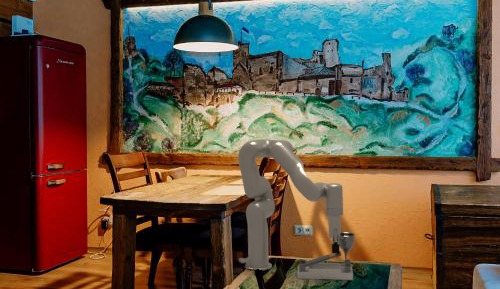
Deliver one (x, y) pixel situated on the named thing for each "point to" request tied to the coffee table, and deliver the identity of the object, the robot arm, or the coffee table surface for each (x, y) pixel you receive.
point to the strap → (322, 259)
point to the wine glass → (346, 244)
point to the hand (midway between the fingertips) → (335, 252)
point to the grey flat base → (325, 271)
